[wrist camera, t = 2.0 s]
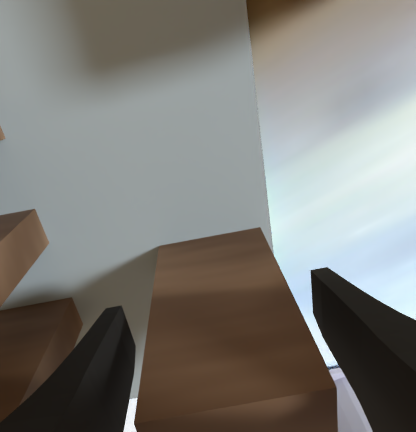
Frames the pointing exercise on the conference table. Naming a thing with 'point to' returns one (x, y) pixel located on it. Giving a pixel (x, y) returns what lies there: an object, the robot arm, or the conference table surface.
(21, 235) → the domino
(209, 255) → the domino
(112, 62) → the slate mat
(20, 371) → the domino
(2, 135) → the domino
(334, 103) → the conference table surface
